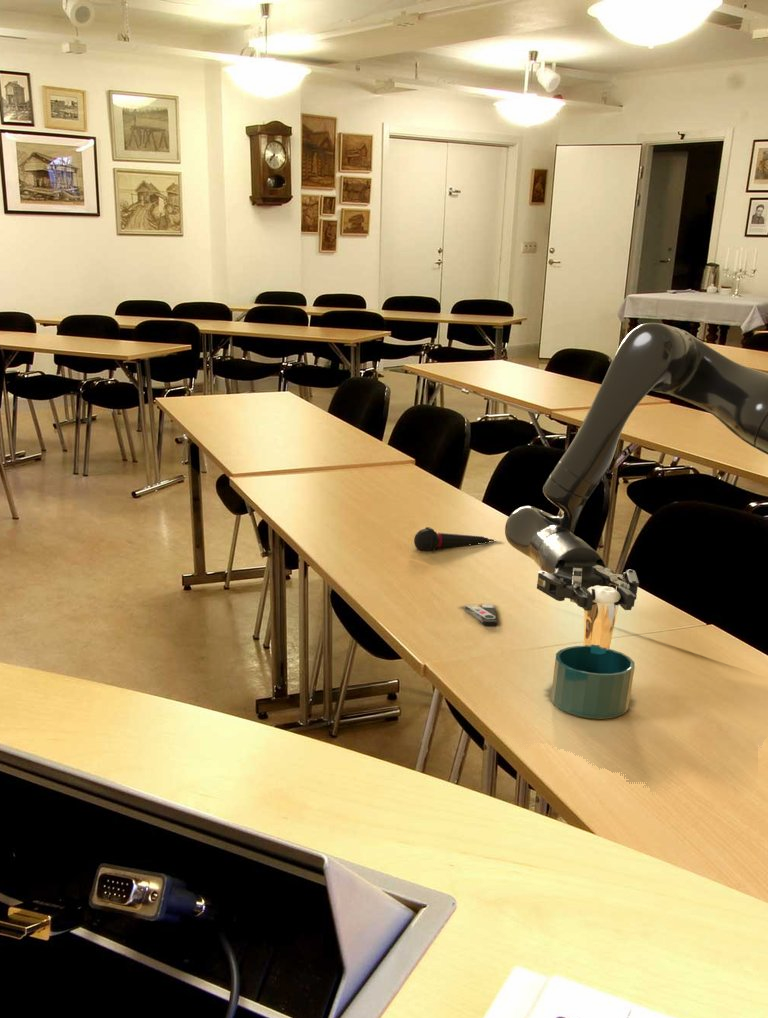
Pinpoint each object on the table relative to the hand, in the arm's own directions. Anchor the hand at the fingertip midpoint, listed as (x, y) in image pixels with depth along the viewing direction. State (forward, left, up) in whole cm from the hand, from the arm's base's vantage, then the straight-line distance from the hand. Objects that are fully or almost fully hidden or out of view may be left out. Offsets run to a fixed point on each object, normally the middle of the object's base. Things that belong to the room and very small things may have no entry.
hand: (609, 603), depth 119 cm
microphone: (-42, -65, -16) cm, 79 cm away
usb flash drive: (-15, -34, -16) cm, 40 cm away
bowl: (-2, -2, -16) cm, 16 cm away
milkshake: (-2, -2, -8) cm, 9 cm away
